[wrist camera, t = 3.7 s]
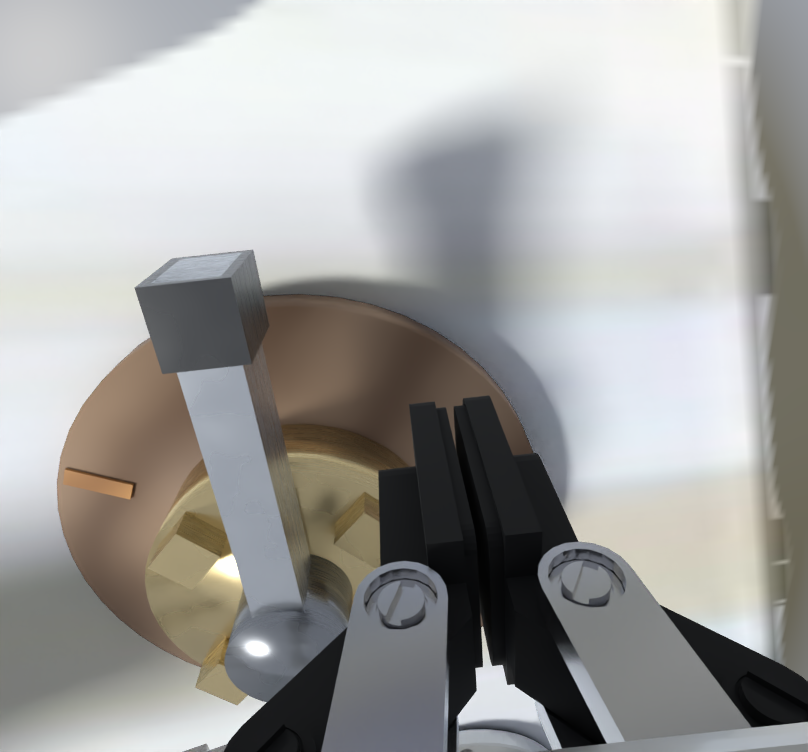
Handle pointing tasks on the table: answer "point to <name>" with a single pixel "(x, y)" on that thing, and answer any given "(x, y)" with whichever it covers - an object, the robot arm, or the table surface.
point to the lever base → (296, 404)
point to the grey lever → (252, 494)
